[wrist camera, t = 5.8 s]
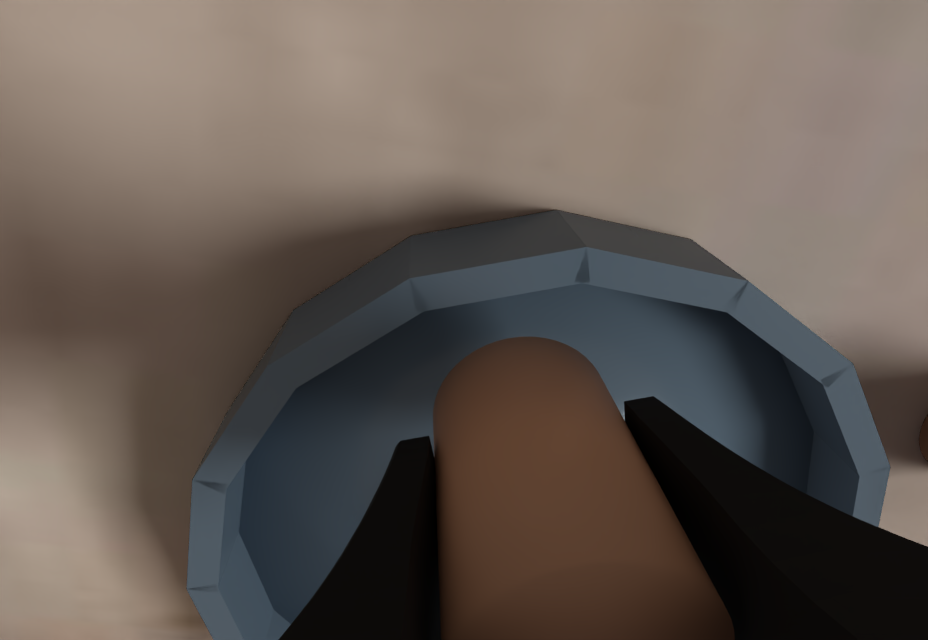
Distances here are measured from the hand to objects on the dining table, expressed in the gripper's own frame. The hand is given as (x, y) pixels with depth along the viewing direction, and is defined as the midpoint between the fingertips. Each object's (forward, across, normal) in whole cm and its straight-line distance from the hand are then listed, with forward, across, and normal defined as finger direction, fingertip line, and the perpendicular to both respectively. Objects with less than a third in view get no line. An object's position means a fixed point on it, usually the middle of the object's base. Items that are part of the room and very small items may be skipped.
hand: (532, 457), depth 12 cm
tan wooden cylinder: (+1, 0, 0) cm, 1 cm away
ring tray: (+5, 0, +6) cm, 8 cm away
